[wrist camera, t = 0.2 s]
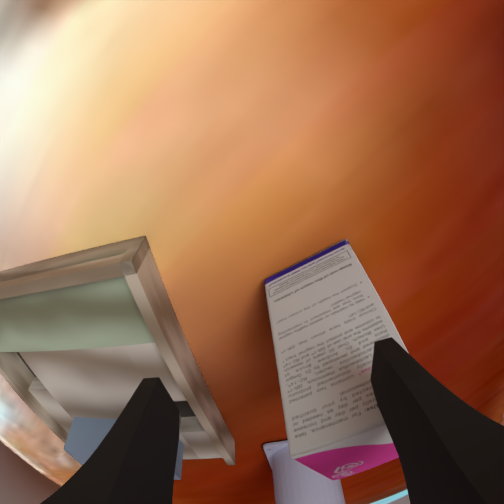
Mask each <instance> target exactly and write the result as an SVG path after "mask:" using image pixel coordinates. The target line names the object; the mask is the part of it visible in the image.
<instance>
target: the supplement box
mask: <svg viewBox="0 0 504 504" xmlns="http://www.w3.org/2000/svg"><path fill="white" fill-rule="evenodd" d="M264 283H265V291H266V297H267V304H268V311H269V318H270V324H271V331H272V337H273V344H274V350H275V357H276V365H277V370H278V377H279V384H280V391H281V398H282V405H283V412H284V418H285V424H286V432H287V439H288V446H289V454H290V457H291V458H292V459H294V460H296V461H298V462H300V463H301V464H303V465H305V466H307V467H309V468H310V469H312V470H314V471H316V472H318V473H320V474H322V475H323V476H325V477H327V478H329V479H331V480H337V479H341V478H344V477H348V476H351V475H354V474H357V473H359V472H362V471H365V470H367V469H370V468H373V467H375V466H378V465H380V464H383V463H386V462H388V461H391V460H393V459H396V458H398V457H399V456H398V453H397V451H396V448H395V446H394V443H393V441H392V438H391V436H390V434H389V431H388V429H387V426H386V424H385V422H384V419H383V417H382V414H381V412H380V410H379V407H378V405H377V401H376V398H375V395H374V391H373V387H372V384H371V380H370V378H371V370H372V361H373V352H374V342H375V341H379V340H383V339H386V338H390V337H392V338H393V339H394V340H395V341H396V342H397V343H398V344H399V345H400V346H401V347H402V348H403V349H405V350H406V351H407V349H406V347H405V345H404V343H403V341H402V339H401V337H400V335H399V333H398V331H397V329H396V327H395V325H394V323H393V322H392V320H391V318H390V316H389V314H388V312H387V310H386V308H385V307H384V305H383V303H382V301H381V299H380V297H379V296H378V294H377V292H376V290H375V288H374V286H373V285H372V283H371V281H370V279H369V278H368V276H367V274H366V272H365V271H364V269H363V267H362V265H361V264H360V262H359V260H358V258H357V257H356V255H355V253H354V251H353V249H352V248H351V246H350V244H349V242H348V240H347V239H344V240H343V241H340V242H338V243H336V244H334V245H332V246H330V247H328V248H326V249H325V250H323V251H321V252H319V253H317V254H315V255H313V256H311V257H309V258H307V259H305V260H303V261H301V262H299V263H297V264H295V265H293V266H291V267H288V268H286V269H284V270H282V271H280V272H278V273H276V274H274V275H272V276H271V277H268V278H267V279H266V280H265V282H264ZM407 352H408V351H407Z"/></svg>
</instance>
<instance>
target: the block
mask: <svg viewBox="0 0 504 504" xmlns="http://www.w3.org/2000/svg"><path fill="white" fill-rule="evenodd" d="M116 420H117V419H101V418H83V417H74V419H73V422H72V425H71V428H70V431H69V434H68V437H67V440H66V443H65V446H64V450H65V451H66V452H67V453H69V454H70V455H71V456H72V457H73V458H74V459H76V460H77V461H78V462H79V463H80V464H82V465H83V464H84V463H85V462H86V461H87V460H88V459H89V457H90V456H91V455H92V454H93V452H94V451H95V450H96V449H97V447H98V446H99V444H100V443H101V442H102V440H103V439H104V438H105V436H106V435H107V433H108V432H109V431H110V429H111V428H112V426H113V425H114V423H115V422H116ZM183 449H184V444H183V443H182V442H181V440H180V439H179V443H178V451H177V459H176V466H175V474H174V480H181V472H182V460H183Z"/></svg>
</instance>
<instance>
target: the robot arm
mask: <svg viewBox="0 0 504 504" xmlns="http://www.w3.org/2000/svg"><path fill="white" fill-rule="evenodd" d="M370 380H371V384H372V387H373V391H374V395H375V398H376V401H377V405H378V407H379V410H380V412H381V414H382V417H383V419H384V422H385V424H386V426H387V429H388V431H389V434H390V436H391V438H392V441H393V443H394V446H395V448H396V451H397V453H398V456H399V459H400V462H401V465H402V469H403V473H404V477H405V481H406V485H407V489H408V494H409V499H410V504H504V426H503V425H501V424H499V423H497V422H495V421H493V420H491V419H490V418H488V417H486V416H485V415H483V414H482V413H480V412H478V411H477V410H475V409H474V408H472V407H471V406H469V405H468V404H467V403H465V402H464V401H462V400H461V399H460V398H459V397H457V396H456V395H455V394H453V393H452V392H451V391H450V390H448V389H447V388H446V387H445V386H444V385H442V384H441V383H440V382H439V381H438V380H437V379H435V378H434V377H433V376H432V375H431V374H430V373H429V372H428V371H426V370H425V369H424V368H423V367H422V366H421V365H420V364H419V363H418V362H417V361H416V360H415V359H414V358H413V357H412V356H411V355H410V354H409V353H408V352H407V351H406V350H405V349H403V348H402V347H401V346H400V345H399V344H398V343H397V342H396V341H395V340H394V339H393V338H392V337H390V338H386V339H383V340H379V341H375V342H374V352H373V361H372V370H371V378H370ZM179 426H180V422H179V409H178V407H177V406H176V404H175V403H174V401H173V399H172V398H171V396H170V394H169V393H168V391H167V390H166V388H165V386H164V384H163V383H162V381H161V379H160V378H159V377H154V378H143V380H142V381H141V383H140V384H139V386H138V387H137V389H136V390H135V392H134V393H133V395H132V397H131V398H130V400H129V401H128V403H127V405H126V406H125V408H124V409H123V411H122V412H121V414H120V416H119V417H118V419H117V420H116V422H115V423H114V425H113V426H112V428H111V429H110V431H109V432H108V433H107V435H106V436H105V438H104V439H103V440H102V442H101V443H100V444H99V446H98V447H97V449H96V450H95V451H94V452H93V454H92V455H91V456H90V457H89V459H88V460H87V461H86V462H85V463H84V464H83V466H82V467H81V468H80V469H79V470H78V471H77V472H76V473H75V474H74V475H73V476H72V477H71V478H70V479H69V480H68V481H67V482H66V483H65V484H64V485H63V486H62V487H61V488H59V489H58V491H56V492H55V493H54V494H53V495H51V496H50V497H49V498H47V499H46V500H45V501H43V502H42V503H41V504H172V494H173V483H174V474H175V466H176V459H177V451H178V443H179ZM263 449H264V452H265V454H266V456H267V459H268V461H269V464H270V466H271V469H272V472H273V483H274V493H275V504H345V500H344V496H343V491H342V486H341V482H340V479H337V480H331V479H329V478H327V477H325V476H323V475H322V474H320V473H318V472H316V471H314V470H312V469H310V468H309V467H307V466H305V465H303V464H301V463H300V462H298V461H296V460H294V459H292V458H291V457H290V454H289V446H288V440H285V441H279V442H272V443H266V444H264V445H263Z"/></svg>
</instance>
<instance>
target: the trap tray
mask: <svg viewBox="0 0 504 504" xmlns="http://www.w3.org/2000/svg"><path fill="white" fill-rule="evenodd" d="M0 373H1V374H2V376H3V377H4V378H5V379H6V381H7V382H8V383H9V384H10V386H11V387H12V388H13V389H14V390H15V392H16V393H17V394H18V395H19V396H20V397H21V399H22V400H23V401H24V402H25V403H26V404H27V405H28V406H29V407H30V409H31V410H32V411H33V412H34V413H35V414H36V415H37V416H38V417H39V418H40V419H41V420H42V421H43V422H44V423H45V424H46V425H47V426H48V427H49V428H50V429H51V430H52V431H53V432H54V433H55V434H56V435H57V436H58V437H59V438H60V439H61V440H62V441H63V442H64V443H66V440H67V437H68V434H69V431H70V428H71V425H72V422H73V419H74V417H83V418H101V419H118V417H119V416H120V414H121V412H122V411H123V409H124V408H125V406H126V405H127V403H128V401H129V400H130V398H131V397H132V395H133V393H134V392H135V390H136V389H137V387H138V386H139V384H140V383H141V381H142V380H143V378H154V377H159V378H160V379H161V381H162V383H163V384H164V386H165V388H166V390H167V391H168V393H169V394H170V396H171V398H172V399H173V401H174V403H175V404H176V406H177V407H178V409H179V422H180V426H179V439H180V440H181V442H182V443H183V444H184V449H183V459H208V458H223V459H224V460H225V462H226V463H227V465H235V441H234V439H233V437H232V435H231V433H230V431H229V429H228V427H227V425H226V423H225V421H224V419H223V418H222V416H221V414H220V412H219V410H218V408H217V406H216V404H215V401H214V399H213V397H212V395H211V393H210V391H209V389H208V387H207V385H206V383H205V381H204V379H203V376H202V374H201V372H200V370H199V368H198V366H197V363H196V361H195V359H194V357H193V354H192V352H191V350H190V348H189V345H188V343H187V341H186V338H185V336H184V334H183V331H182V329H181V327H180V324H179V322H178V320H177V317H176V315H175V312H174V310H173V307H172V305H171V302H170V300H169V297H168V295H167V292H166V290H165V287H164V285H163V282H162V279H161V277H160V274H159V271H158V269H157V266H156V263H155V261H154V258H153V255H152V252H151V249H150V247H149V244H148V241H147V238H146V236H142V237H138V238H133V239H129V240H125V241H120V242H116V243H112V244H107V245H103V246H99V247H95V248H91V249H86V250H82V251H78V252H74V253H70V254H66V255H62V256H58V257H54V258H50V259H46V260H43V261H39V262H35V263H31V264H27V265H23V266H20V267H16V268H12V269H9V270H5V271H1V272H0Z"/></svg>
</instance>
